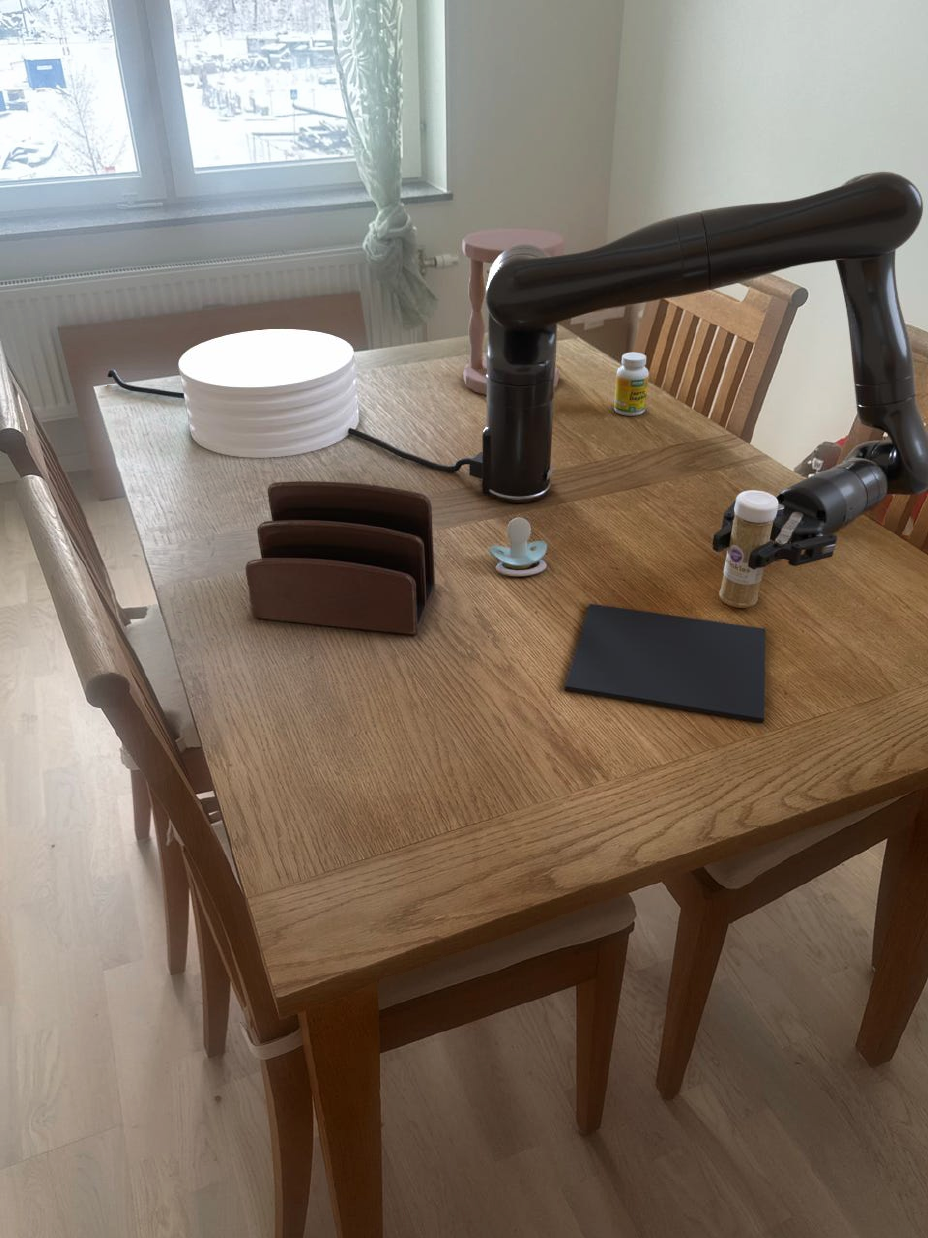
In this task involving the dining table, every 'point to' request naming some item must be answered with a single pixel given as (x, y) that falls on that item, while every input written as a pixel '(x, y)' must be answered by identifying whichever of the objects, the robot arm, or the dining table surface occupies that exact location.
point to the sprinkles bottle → (747, 547)
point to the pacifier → (519, 551)
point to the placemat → (671, 662)
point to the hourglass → (485, 250)
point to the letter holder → (344, 557)
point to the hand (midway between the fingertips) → (734, 552)
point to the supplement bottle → (631, 385)
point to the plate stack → (270, 392)
